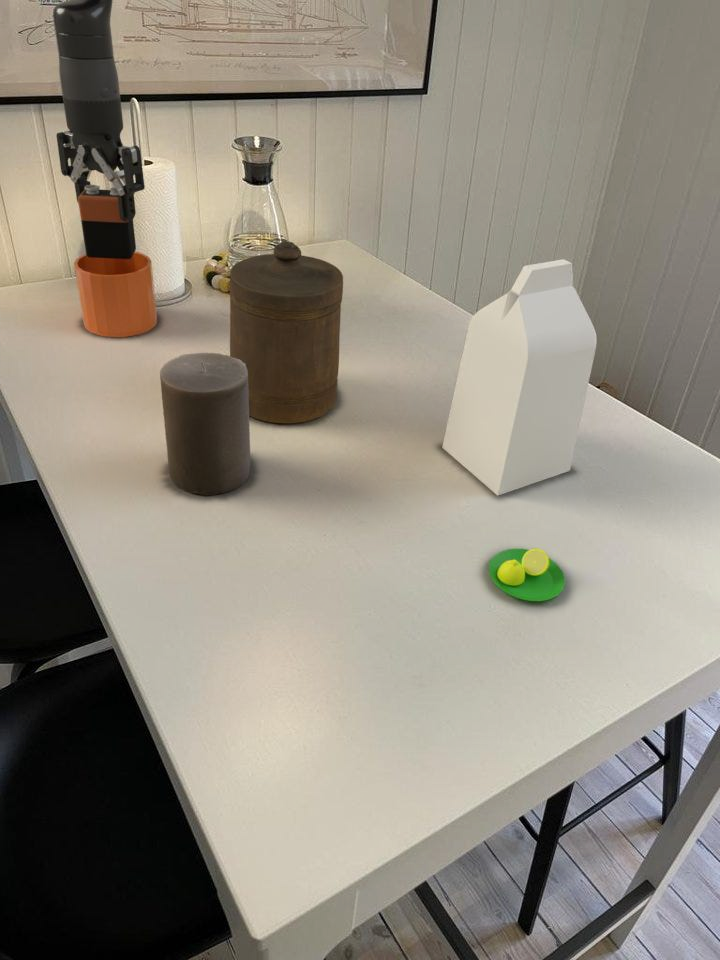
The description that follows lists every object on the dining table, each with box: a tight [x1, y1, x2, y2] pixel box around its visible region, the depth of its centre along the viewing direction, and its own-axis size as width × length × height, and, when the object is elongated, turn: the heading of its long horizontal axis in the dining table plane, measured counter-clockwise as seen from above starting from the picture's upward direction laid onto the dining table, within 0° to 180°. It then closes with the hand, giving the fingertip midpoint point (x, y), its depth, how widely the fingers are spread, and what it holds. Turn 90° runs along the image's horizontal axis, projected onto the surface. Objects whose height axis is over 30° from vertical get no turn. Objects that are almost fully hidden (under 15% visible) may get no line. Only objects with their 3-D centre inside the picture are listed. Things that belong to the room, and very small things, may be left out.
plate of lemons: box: [488, 547, 566, 602], centre depth 79 cm, size 8×8×3 cm
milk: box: [441, 258, 598, 496], centre depth 90 cm, size 12×12×26 cm
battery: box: [77, 184, 137, 259], centre depth 113 cm, size 4×7×10 cm, turn 93°
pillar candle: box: [159, 352, 252, 496], centre depth 87 cm, size 10×10×15 cm
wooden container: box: [229, 241, 344, 424], centre depth 100 cm, size 15×15×22 cm
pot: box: [73, 250, 158, 338], centre depth 120 cm, size 11×11×10 cm
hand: (106, 213), depth 112 cm, fingers closed on battery, 8 cm apart
